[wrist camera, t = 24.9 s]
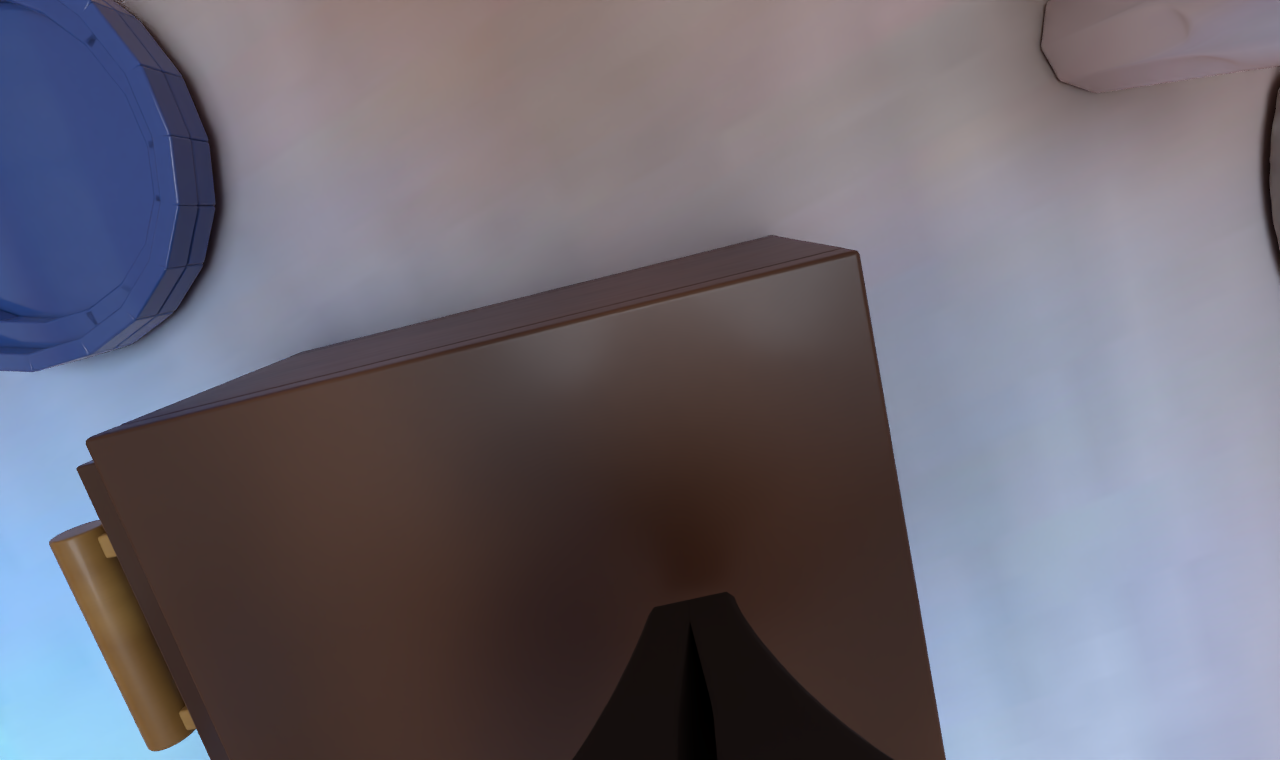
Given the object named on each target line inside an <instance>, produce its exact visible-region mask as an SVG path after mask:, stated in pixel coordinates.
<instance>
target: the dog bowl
mask: <svg viewBox="0 0 1280 760" xmlns="http://www.w3.org/2000/svg"><path fill="white" fill-rule="evenodd" d="M1269 160H1270V164H1271V170H1270V178H1269V181H1270V194H1271V201H1272V216H1273V224H1274V227H1275V231H1276V234H1277V239H1278V244H1279V249H1280V88H1279V90H1278V94H1277V100H1276V111H1275V116H1274V121H1273V125H1272V133H1271V156H1270V159H1269Z"/></svg>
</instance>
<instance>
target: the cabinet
mask: <svg viewBox="0 0 1280 760" xmlns="http://www.w3.org/2000/svg"><path fill="white" fill-rule="evenodd" d="M86 446H87V448H88V450H89V452H90V454H91V457H92V459H93V461H94V463H95V465H96V468H97V470H98V472H99V474H100V476H101V479H102V481H103V483H104V485H105V487H106V490H107V492H108V494H109V496H110V498H111V501H112V503H113V505H114V507H115V509H116V512H117V514H118V516H119V518H120V520H121V523H122V525H123V527H124V529H125V531H126V534H127V536H128V538H129V540H130V542H131V545H132V547H133V549H134V551H135V553H136V556H137V558H138V560H139V562H140V564H141V567H142V569H143V571H144V573H145V575H146V578H147V580H148V582H149V584H150V586H151V589H152V591H153V593H154V595H155V597H156V600H157V602H158V604H159V606H160V608H161V611H162V613H163V615H164V617H165V619H166V622H167V624H168V626H169V628H170V630H171V633H172V635H173V637H174V639H175V641H176V644H177V646H178V648H179V650H180V652H181V655H182V657H183V659H184V661H185V663H186V666H187V668H188V670H189V672H190V674H191V677H192V679H193V681H194V683H195V685H196V688H197V690H198V692H199V694H200V696H201V699H202V701H203V703H204V705H205V707H206V710H207V712H208V714H209V716H210V718H211V721H212V723H213V725H214V727H215V729H216V732H217V734H218V736H219V738H220V740H221V743H222V745H223V747H224V749H225V751H226V754H227V756H228V758H229V760H572V759H573V758H574V756H575V755H576V753H577V752H578V750H579V749H580V747H581V746H582V744H583V743H584V741H585V740H586V738H587V736H588V735H589V733H590V732H591V730H592V728H593V727H594V725H595V723H596V721H597V720H598V718H599V716H600V715H601V713H602V711H603V710H604V708H605V706H606V704H607V703H608V701H609V699H610V697H611V696H612V694H613V692H614V690H615V688H616V686H617V684H618V682H619V680H620V678H621V676H622V674H623V672H624V670H625V668H626V666H627V664H628V662H629V660H630V658H631V656H632V654H633V651H634V649H635V647H636V645H637V643H638V640H639V638H640V636H641V633H642V631H643V628H644V626H645V623H646V621H647V618H648V616H649V614H650V612H651V611H652V609H653V608H654V607H657V606H662V605H666V604H671V603H676V602H680V601H685V600H690V599H694V598H699V597H704V596H708V595H713V594H718V593H722V592H728V593H729V594H731V595H733V596H734V597H735V600H736V602H737V604H738V606H739V608H740V610H741V612H742V614H743V615H744V617H745V618H746V620H747V621H748V623H749V624H750V626H751V627H752V629H753V630H754V631H755V633H756V634H757V635H758V637H759V638H760V639H761V641H762V642H763V643H764V644H765V645H766V647H767V648H768V649H769V650H770V651H771V652H772V654H773V655H774V656H775V657H776V658H777V660H778V661H779V662H780V663H781V664H782V665H783V666H784V667H785V668H786V670H787V671H788V672H789V673H790V674H791V675H792V676H793V677H794V678H795V679H796V680H797V681H798V682H799V683H800V684H801V685H802V686H803V687H804V688H805V689H806V690H807V691H808V692H809V693H810V694H811V695H812V696H813V697H814V698H816V699H817V700H818V701H819V702H820V703H821V704H822V705H823V706H824V707H825V708H827V709H828V710H829V711H830V712H831V713H832V714H834V715H835V716H836V717H837V718H838V719H840V720H841V721H842V722H843V723H845V724H846V725H847V726H848V727H849V728H851V729H852V730H853V731H855V732H856V733H857V734H859V735H860V736H861V737H863V738H864V739H865V740H867V741H868V742H869V743H871V744H872V745H873V746H875V747H876V748H877V749H879V750H880V751H882V752H883V753H885V754H886V755H888V756H890V757H891V758H893V759H894V760H946V758H945V752H944V746H943V740H942V734H941V728H940V722H939V717H938V711H937V705H936V699H935V693H934V687H933V681H932V676H931V670H930V664H929V658H928V652H927V646H926V640H925V635H924V629H923V623H922V617H921V611H920V605H919V599H918V594H917V588H916V582H915V576H914V570H913V564H912V558H911V553H910V547H909V541H908V535H907V529H906V523H905V517H904V511H903V506H902V500H901V494H900V488H899V482H898V476H897V470H896V465H895V459H894V453H893V447H892V441H891V435H890V429H889V424H888V418H887V412H886V406H885V400H884V394H883V388H882V383H881V377H880V371H879V365H878V359H877V353H876V347H875V342H874V336H873V330H872V324H871V318H870V312H869V306H868V301H867V295H866V289H865V283H864V277H863V271H862V265H861V260H860V254H859V253H858V251H855V250H850V249H845V248H840V247H834V246H829V245H823V244H817V243H812V242H806V241H800V240H795V239H789V238H783V237H778V236H774V235H771V236H767V237H763V238H759V239H755V240H751V241H747V242H743V243H739V244H735V245H731V246H727V247H723V248H718V249H714V250H710V251H706V252H702V253H698V254H694V255H690V256H686V257H682V258H678V259H674V260H670V261H666V262H662V263H658V264H654V265H650V266H646V267H642V268H638V269H634V270H630V271H626V272H622V273H618V274H614V275H610V276H606V277H602V278H598V279H594V280H590V281H586V282H582V283H578V284H574V285H570V286H566V287H562V288H558V289H554V290H549V291H545V292H541V293H537V294H533V295H529V296H525V297H521V298H517V299H513V300H509V301H505V302H501V303H497V304H493V305H489V306H485V307H481V308H477V309H473V310H469V311H465V312H461V313H457V314H453V315H449V316H445V317H441V318H437V319H433V320H429V321H425V322H421V323H417V324H413V325H409V326H405V327H401V328H397V329H393V330H389V331H385V332H381V333H376V334H372V335H368V336H364V337H360V338H356V339H352V340H348V341H344V342H340V343H336V344H332V345H328V346H324V347H320V348H316V349H312V350H308V351H304V352H301V353H298V354H296V355H293V356H291V357H289V358H286V359H284V360H281V361H279V362H276V363H274V364H271V365H269V366H266V367H264V368H261V369H259V370H256V371H254V372H251V373H249V374H246V375H244V376H241V377H239V378H236V379H234V380H231V381H229V382H226V383H224V384H221V385H219V386H216V387H214V388H211V389H209V390H206V391H204V392H201V393H199V394H196V395H194V396H191V397H189V398H186V399H184V400H181V401H179V402H176V403H174V404H171V405H169V406H166V407H164V408H161V409H159V410H156V411H154V412H151V413H149V414H146V415H144V416H141V417H139V418H137V419H134V420H132V421H129V422H127V423H124V424H122V425H120V426H118V427H114V428H112V429H109V430H107V431H104V432H102V433H99V434H97V435H94V436H92V437H90V438H89V439H87V440H86Z"/></svg>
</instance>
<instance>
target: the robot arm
mask: <svg viewBox="0 0 1280 760" xmlns="http://www.w3.org/2000/svg"><path fill="white" fill-rule="evenodd" d="M572 760H894V759H893V758H891V757H890V756H888V755H886V754H885V753H883V752H882V751H880V750H879V749H877V748H876V747H875V746H873V745H872V744H871V743H869V742H868V741H867V740H865V739H864V738H863V737H861V736H860V735H859V734H857V733H856V732H855V731H853V730H852V729H851V728H849V727H848V726H847V725H846V724H845V723H843V722H842V721H841V720H840V719H838V718H837V717H836V716H835V715H834V714H832V713H831V712H830V711H829V710H828V709H827V708H825V707H824V706H823V705H822V704H821V703H820V702H819V701H818V700H817V699H816V698H814V697H813V696H812V695H811V694H810V693H809V692H808V691H807V690H806V689H805V688H804V687H803V686H802V685H801V684H800V683H799V682H798V681H797V680H796V679H795V678H794V677H793V676H792V675H791V674H790V673H789V672H788V671H787V670H786V668H785V667H784V666H783V665H782V664H781V663H780V662H779V661H778V660H777V658H776V657H775V656H774V655H773V654H772V652H771V651H770V650H769V649H768V648H767V647H766V645H765V644H764V643H763V642H762V641H761V639H760V638H759V637H758V635H757V634H756V633H755V631H754V630H753V629H752V627H751V626H750V624H749V623H748V621H747V620H746V618H745V617H744V615H743V614H742V612H741V610H740V608H739V606H738V604H737V602H736V600H735V597H734V596H733V595H731V594H729V593H728V592H722V593H718V594H713V595H708V596H704V597H699V598H694V599H690V600H685V601H680V602H676V603H671V604H666V605H662V606H657V607H654V608H653V609H652V611H651V612H650V614H649V616H648V618H647V621H646V623H645V626H644V628H643V631H642V633H641V636H640V638H639V640H638V643H637V645H636V647H635V649H634V651H633V654H632V656H631V658H630V660H629V662H628V664H627V666H626V668H625V670H624V672H623V674H622V676H621V678H620V680H619V682H618V684H617V686H616V688H615V690H614V692H613V694H612V696H611V697H610V699H609V701H608V703H607V704H606V706H605V708H604V710H603V711H602V713H601V715H600V716H599V718H598V720H597V721H596V723H595V725H594V727H593V728H592V730H591V732H590V733H589V735H588V736H587V738H586V740H585V741H584V743H583V744H582V746H581V747H580V749H579V750H578V752H577V753H576V755H575V756H574V758H573V759H572Z"/></svg>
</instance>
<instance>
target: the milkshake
mask: <svg viewBox="0 0 1280 760" xmlns="http://www.w3.org/2000/svg"><path fill="white" fill-rule="evenodd" d="M1041 48H1042V50H1043V52H1044V54H1045V55H1046V57H1047V59H1048V61H1049V63H1050V64H1051V66H1052V68H1053V70H1054V72H1055V73H1056V75H1057V77H1058V79H1059V81H1062V82H1065V83H1068V84H1070V85H1073V86H1076V87H1079V88H1082V89H1084V90H1087V91H1090V92H1093V93H1102V92H1109V91H1116V90H1123V89H1129V88H1136V87H1143V86H1149V85H1156V84H1163V83H1169V82H1176V81H1182V80H1189V79H1196V78H1202V77H1209V76H1216V75H1222V74H1229V73H1236V72H1242V71H1249V70H1256V69H1264V68H1272V67H1280V0H1050V1H1049V2H1048V3H1047V4H1046V10H1045V19H1044V27H1043V35H1042V43H1041Z"/></svg>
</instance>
